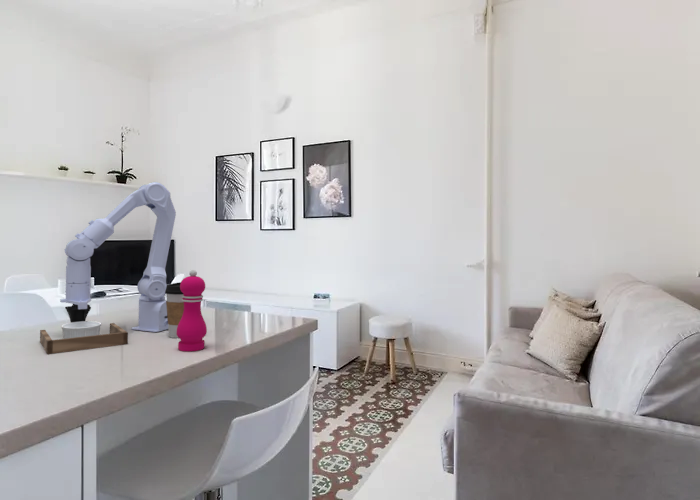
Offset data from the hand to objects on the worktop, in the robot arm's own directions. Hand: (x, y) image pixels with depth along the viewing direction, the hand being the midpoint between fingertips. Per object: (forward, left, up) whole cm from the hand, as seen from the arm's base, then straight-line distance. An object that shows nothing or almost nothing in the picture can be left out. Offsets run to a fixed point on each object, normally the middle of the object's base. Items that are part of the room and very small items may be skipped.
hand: (77, 331), depth 115 cm
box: (-8, +5, -1) cm, 9 cm away
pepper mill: (-36, -2, -1) cm, 36 cm away
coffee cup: (-24, -12, -1) cm, 27 cm away
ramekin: (-5, +3, -1) cm, 6 cm away
